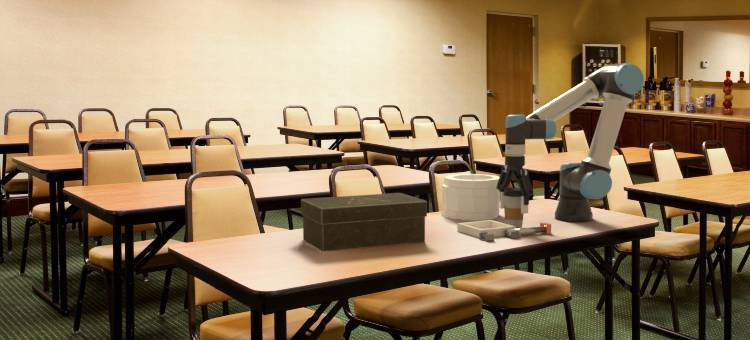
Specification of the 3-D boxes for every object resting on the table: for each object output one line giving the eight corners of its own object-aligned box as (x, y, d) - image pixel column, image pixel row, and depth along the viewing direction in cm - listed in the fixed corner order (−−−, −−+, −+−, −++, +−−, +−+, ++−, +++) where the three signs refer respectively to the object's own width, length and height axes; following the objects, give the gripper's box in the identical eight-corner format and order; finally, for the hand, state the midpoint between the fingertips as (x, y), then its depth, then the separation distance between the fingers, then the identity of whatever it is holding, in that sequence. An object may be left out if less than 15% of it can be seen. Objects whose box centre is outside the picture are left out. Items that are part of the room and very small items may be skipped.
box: (427, 243, 278) (427, 200, 276) (321, 252, 263) (321, 208, 261) (400, 231, 299) (400, 192, 297) (301, 240, 284) (300, 198, 282)
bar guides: (510, 235, 290) (511, 229, 289) (519, 237, 285) (519, 231, 285) (479, 239, 283) (479, 232, 283) (486, 241, 279) (487, 234, 279)
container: (469, 208, 351) (469, 172, 349) (511, 215, 333) (512, 177, 332) (430, 215, 334) (430, 177, 332) (473, 222, 317) (473, 182, 315)
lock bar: (544, 231, 296) (544, 222, 296) (551, 233, 293) (551, 224, 292) (504, 236, 288) (505, 226, 288) (511, 238, 284) (511, 228, 284)
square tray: (490, 227, 305) (491, 219, 305) (515, 234, 292) (515, 226, 291) (457, 231, 298) (457, 223, 298) (480, 238, 285) (480, 230, 284)
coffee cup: (524, 230, 300) (525, 191, 298) (502, 229, 301) (502, 190, 300) (524, 226, 308) (525, 188, 306) (503, 225, 309) (503, 187, 308)
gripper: (488, 153, 310) (487, 206, 313) (527, 158, 289) (526, 216, 291) (503, 152, 314) (502, 205, 316) (543, 157, 292) (542, 214, 294)
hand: (513, 210), depth 304 cm, fingers open, 12 cm apart
